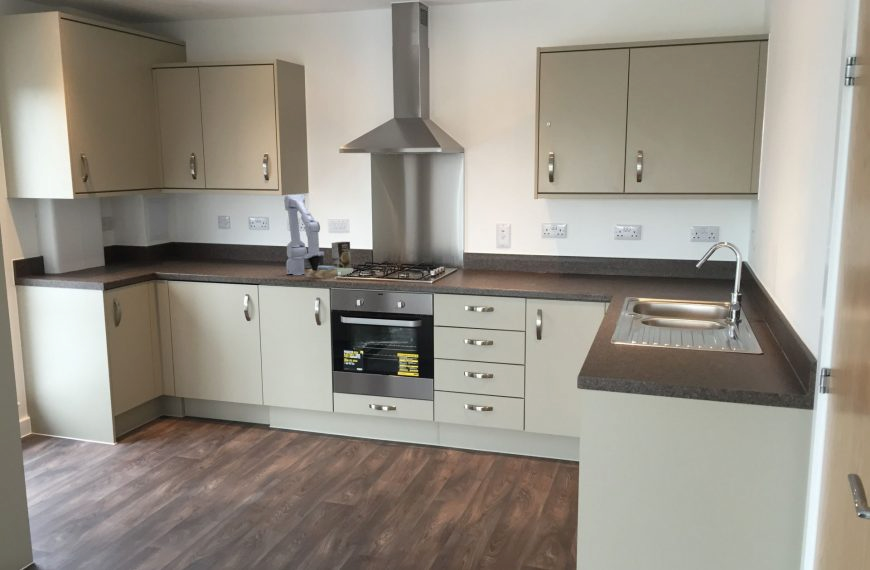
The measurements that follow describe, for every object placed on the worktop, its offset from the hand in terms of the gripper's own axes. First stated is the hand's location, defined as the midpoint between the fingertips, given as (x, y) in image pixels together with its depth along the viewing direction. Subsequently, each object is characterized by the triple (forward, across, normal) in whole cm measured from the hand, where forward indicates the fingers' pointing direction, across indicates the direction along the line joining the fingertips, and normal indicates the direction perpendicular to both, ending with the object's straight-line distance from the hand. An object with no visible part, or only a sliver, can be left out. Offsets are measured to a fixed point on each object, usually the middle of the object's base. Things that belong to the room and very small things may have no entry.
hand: (314, 270), depth 384 cm
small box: (+5, +33, +27) cm, 43 cm away
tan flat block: (+4, +8, +2) cm, 10 cm away
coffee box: (+5, +32, +6) cm, 33 cm away
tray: (+4, +19, 0) cm, 20 cm away
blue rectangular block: (0, +8, 0) cm, 8 cm away
